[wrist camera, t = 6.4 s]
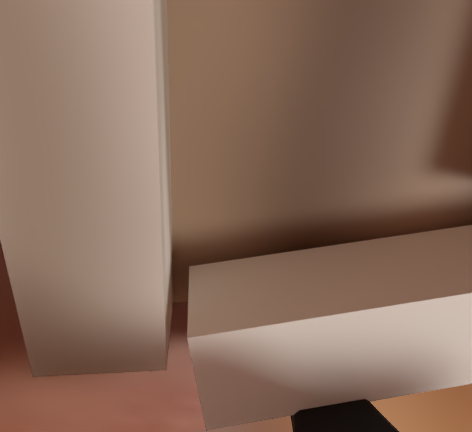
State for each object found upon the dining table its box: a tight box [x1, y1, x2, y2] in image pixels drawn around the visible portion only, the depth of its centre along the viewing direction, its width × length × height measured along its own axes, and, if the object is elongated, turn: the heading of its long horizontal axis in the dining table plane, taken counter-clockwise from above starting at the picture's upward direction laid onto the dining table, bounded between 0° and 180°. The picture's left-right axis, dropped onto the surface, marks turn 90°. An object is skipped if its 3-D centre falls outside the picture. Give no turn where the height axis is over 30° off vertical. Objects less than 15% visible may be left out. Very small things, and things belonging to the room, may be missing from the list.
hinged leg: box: [187, 225, 472, 430], centre depth 8 cm, size 10×2×3 cm, turn 96°
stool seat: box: [0, 0, 472, 377], centre depth 7 cm, size 14×14×4 cm
